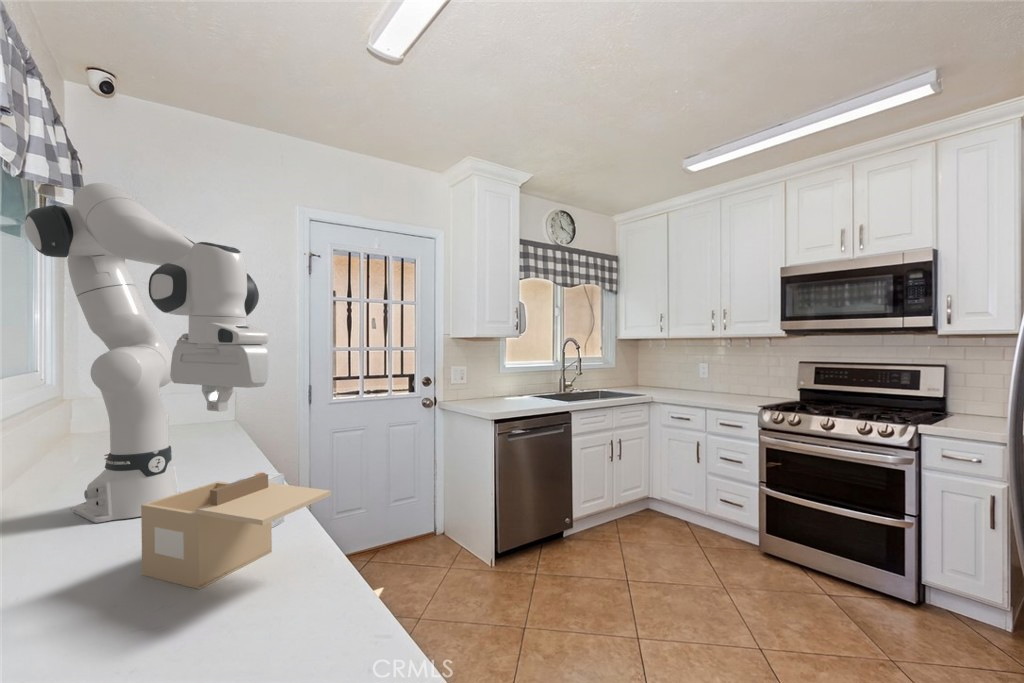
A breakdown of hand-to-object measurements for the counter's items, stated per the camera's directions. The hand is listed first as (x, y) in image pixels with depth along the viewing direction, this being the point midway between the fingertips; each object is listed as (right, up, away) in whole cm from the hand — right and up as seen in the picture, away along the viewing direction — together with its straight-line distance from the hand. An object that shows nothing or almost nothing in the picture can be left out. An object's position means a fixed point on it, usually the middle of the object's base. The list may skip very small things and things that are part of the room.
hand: (217, 410), depth 84 cm
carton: (-2, -28, +1) cm, 28 cm away
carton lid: (+11, -15, -4) cm, 20 cm away
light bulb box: (-2, -28, +16) cm, 32 cm away
